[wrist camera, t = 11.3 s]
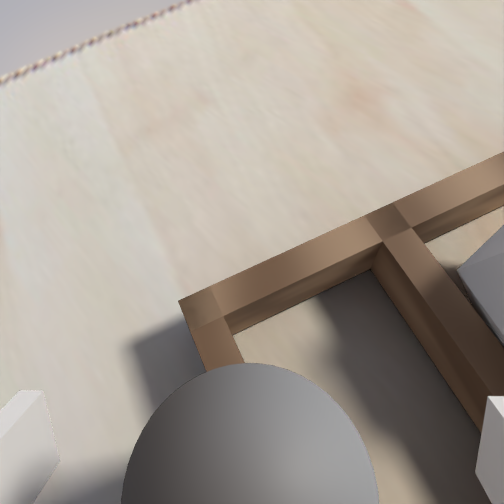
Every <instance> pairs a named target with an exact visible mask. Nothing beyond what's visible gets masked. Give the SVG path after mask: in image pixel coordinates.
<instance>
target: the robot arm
mask: <svg viewBox="0 0 504 504" xmlns="http://www.w3.org/2000/svg"><path fill="white" fill-rule="evenodd" d="M59 462H60V457H59V453H58V449H57V445H56V441H55V436H54V432H53V428H52V424H51V420H50V416H49V411H48V407H47V403H46V399H45V395H44V391H43V390H20V391H19V392H18V393H17V394H16V395H15V396H14V397H13V398H12V399H11V400H10V401H9V402H8V403H7V404H6V405H5V406H4V407H3V408H2V409H1V410H0V504H33V502H34V501H35V499H36V498H37V496H38V494H39V493H40V491H41V490H42V488H43V487H44V485H45V484H46V482H47V481H48V479H49V478H50V476H51V474H52V473H53V471H54V470H55V468H56V467H57V465H58V464H59ZM475 473H476V475H477V477H478V479H479V481H480V483H481V484H482V486H483V488H484V490H485V492H486V494H487V496H488V497H489V499H490V501H491V503H492V504H504V396H488V398H487V404H486V410H485V416H484V422H483V428H482V434H481V440H480V446H479V452H478V458H477V464H476V470H475Z"/></svg>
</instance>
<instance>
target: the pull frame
mask: <svg viewBox="0 0 504 504" xmlns="http://www.w3.org/2000/svg"><path fill="white" fill-rule="evenodd" d="M503 205H504V152H502V153H500V154H498V155H495V156H493V157H491V158H489V159H487V160H484V161H482V162H480V163H478V164H476V165H474V166H471V167H469V168H467V169H465V170H463V171H460V172H458V173H456V174H454V175H452V176H450V177H447V178H445V179H443V180H441V181H439V182H436V183H434V184H432V185H430V186H428V187H426V188H423V189H421V190H419V191H417V192H415V193H412V194H410V195H408V196H406V197H404V198H402V199H399V200H397V201H395V202H393V203H391V204H388V205H386V206H384V207H382V208H380V209H378V210H375V211H373V212H371V213H369V214H367V215H364V216H362V217H360V218H358V219H356V220H354V221H351V222H349V223H347V224H345V225H343V226H340V227H338V228H336V229H334V230H332V231H329V232H327V233H325V234H323V235H321V236H319V237H316V238H314V239H312V240H310V241H308V242H305V243H303V244H301V245H299V246H297V247H295V248H292V249H290V250H288V251H286V252H284V253H281V254H279V255H277V256H275V257H273V258H271V259H268V260H266V261H264V262H262V263H260V264H257V265H255V266H253V267H251V268H249V269H247V270H244V271H242V272H240V273H238V274H236V275H233V276H231V277H229V278H227V279H225V280H223V281H220V282H218V283H216V284H214V285H212V286H209V287H207V288H205V289H203V290H201V291H199V292H196V293H194V294H192V295H190V296H188V297H185V298H183V299H181V300H179V301H178V302H179V305H180V307H181V310H182V312H183V315H184V317H185V320H186V322H187V325H188V327H189V330H190V332H191V335H192V337H193V340H194V342H195V345H196V347H197V350H198V352H199V354H200V357H201V359H202V362H203V364H204V367H205V369H206V372H205V373H203V374H201V375H199V376H197V377H195V378H193V379H192V380H190V381H188V382H187V383H185V384H184V385H183V386H181V387H180V388H179V389H177V390H176V391H175V392H173V393H172V394H171V395H170V396H169V397H168V398H167V399H166V400H165V401H164V402H163V403H162V404H161V405H160V407H159V408H158V409H157V410H156V411H155V413H154V414H153V415H152V417H151V418H150V420H149V421H148V423H147V424H146V426H145V427H144V429H143V430H142V432H141V434H140V436H139V438H138V440H137V442H136V444H135V447H134V449H133V452H132V455H131V457H130V460H129V463H128V467H127V471H126V475H125V479H124V484H123V491H122V498H121V504H379V495H378V487H377V482H376V478H375V473H374V469H373V466H372V463H371V460H370V457H369V454H368V451H367V449H366V447H365V444H364V442H363V440H362V438H361V436H360V434H359V432H358V431H357V429H356V427H355V426H354V424H353V423H352V421H351V419H350V418H349V417H348V415H347V414H346V413H345V412H344V410H343V409H342V408H341V407H340V405H339V404H338V403H337V402H336V401H335V400H334V399H333V398H332V397H331V396H330V395H329V394H328V393H326V392H325V391H324V390H322V389H321V388H320V387H319V386H317V385H316V384H315V383H313V382H311V381H310V380H308V379H306V378H305V377H303V376H301V375H299V374H296V373H294V372H292V371H289V370H287V369H284V368H280V367H276V366H273V365H266V364H259V363H244V360H243V358H242V356H241V354H240V351H239V349H238V347H237V345H236V343H235V340H234V338H233V336H232V335H233V334H235V333H237V332H239V331H241V330H243V329H245V328H248V327H250V326H252V325H254V324H256V323H258V322H260V321H262V320H264V319H266V318H268V317H271V316H273V315H275V314H277V313H279V312H281V311H283V310H285V309H287V308H289V307H291V306H294V305H296V304H298V303H300V302H302V301H304V300H306V299H308V298H310V297H312V296H314V295H317V294H319V293H321V292H323V291H325V290H327V289H329V288H331V287H333V286H335V285H338V284H340V283H342V282H344V281H346V280H348V279H350V278H352V277H354V276H356V275H358V274H361V273H363V272H365V271H367V270H369V269H371V270H372V272H373V273H374V275H375V276H376V278H377V279H378V281H379V282H380V284H381V285H382V287H383V288H384V290H385V291H386V293H387V294H388V296H389V297H390V299H391V300H392V302H393V303H394V305H395V306H396V308H397V309H398V311H399V312H400V313H401V315H402V316H403V318H404V319H405V321H406V322H407V324H408V325H409V327H410V328H411V330H412V331H413V333H414V334H415V336H416V337H417V339H418V340H419V342H420V343H421V345H422V346H423V348H424V349H425V351H426V352H427V354H428V355H429V357H430V358H431V360H432V361H433V363H434V364H435V365H436V367H437V368H438V370H439V371H440V373H441V374H442V376H443V377H444V379H445V380H446V382H447V383H448V385H449V386H450V388H451V389H452V391H453V392H454V394H455V395H456V397H457V398H458V400H459V401H460V403H461V404H462V406H463V407H464V409H465V410H466V412H467V413H468V415H469V416H470V417H471V419H472V420H473V422H474V423H475V425H476V426H477V428H478V429H479V431H480V432H481V434H482V428H483V422H484V416H485V410H486V404H487V398H488V396H504V347H503V346H502V344H501V343H500V342H499V341H498V339H497V338H496V337H495V335H494V334H493V333H492V331H491V330H490V329H489V328H488V326H487V325H486V324H485V322H484V321H483V320H482V318H481V317H480V316H479V315H478V313H477V312H476V311H475V309H474V308H473V307H472V305H471V304H470V303H469V302H468V300H467V299H466V298H465V296H464V295H463V294H462V292H461V291H460V290H459V289H458V287H457V286H456V285H455V283H454V282H453V281H452V279H451V278H450V277H449V276H448V274H447V273H446V272H445V270H444V269H443V268H442V266H441V265H440V264H439V263H438V261H437V260H436V259H435V257H434V256H433V255H432V253H431V252H430V251H429V250H428V248H427V247H426V246H425V244H424V243H425V242H427V241H430V240H432V239H434V238H436V237H438V236H440V235H442V234H444V233H446V232H448V231H450V230H453V229H455V228H457V227H459V226H461V225H463V224H465V223H467V222H469V221H471V220H473V219H476V218H478V217H480V216H482V215H484V214H486V213H488V212H490V211H492V210H494V209H497V208H499V207H501V206H503Z"/></svg>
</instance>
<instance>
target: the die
mask: <svg viewBox="0 0 504 504" xmlns="http://www.w3.org/2000/svg"><path fill="white" fill-rule="evenodd" d="M457 272H458V274H459V277H460V279H461V281H462V283H463V285H464V288H465V290H466V292H467V294H468V297H469V299H470V301H471V303H472V305H473V308H474V309H475V311H476V312H477V313H478V315H479V316H480V317H481V318H482V320H483V321H484V322H485V324H486V325H487V326H488V328H489V329H490V330H491V331H492V333H493V334H494V335H495V337H496V338H497V339H498V341H499V342H500V343H501V344H502V346H503V347H504V225H503V226H502V227H501V228H500V229H499V230H498V231H497V232H496V233H495V234H494V235H493V236H492V237H491V238H490V239H489V240H487V241H486V242H485V243H484V244H483V245H482V246H481V247H480V248H479V249H478V250H477V251H476V252H475V253H474V254H473V255H472V256H471V257H470V258H469V259H468V260H467V261H466V262H465V263H463V264H462V265H461V266H460V267H459V268H458V269H457Z"/></svg>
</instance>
